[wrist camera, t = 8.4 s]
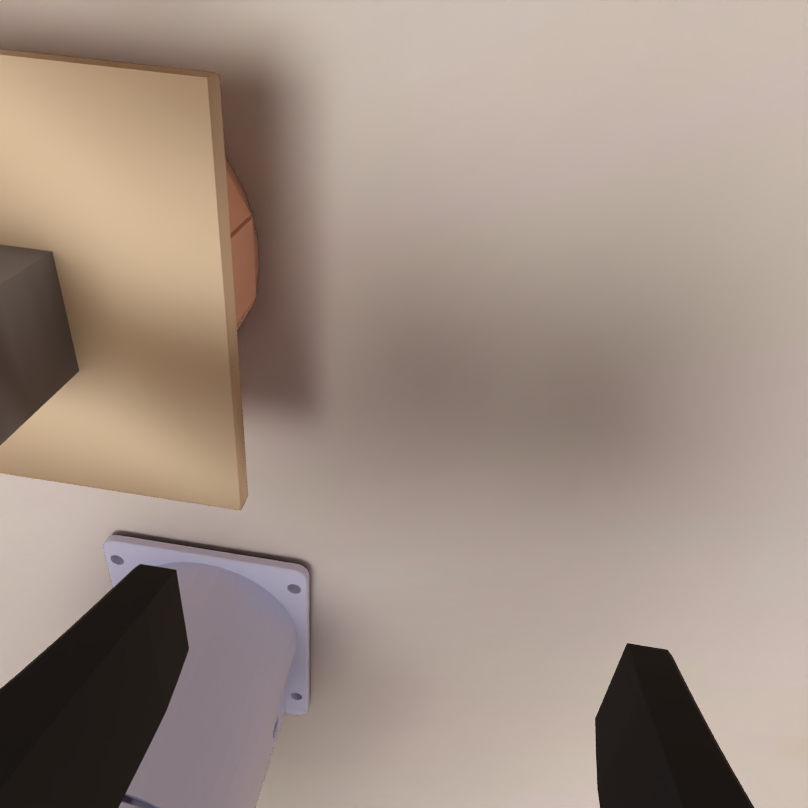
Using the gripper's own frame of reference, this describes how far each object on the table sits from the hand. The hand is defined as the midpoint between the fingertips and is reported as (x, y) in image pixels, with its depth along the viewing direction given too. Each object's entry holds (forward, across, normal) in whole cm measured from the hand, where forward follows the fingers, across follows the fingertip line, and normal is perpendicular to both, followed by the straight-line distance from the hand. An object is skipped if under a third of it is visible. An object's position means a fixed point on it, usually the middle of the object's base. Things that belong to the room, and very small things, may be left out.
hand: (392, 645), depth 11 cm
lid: (+6, +10, -2) cm, 12 cm away
